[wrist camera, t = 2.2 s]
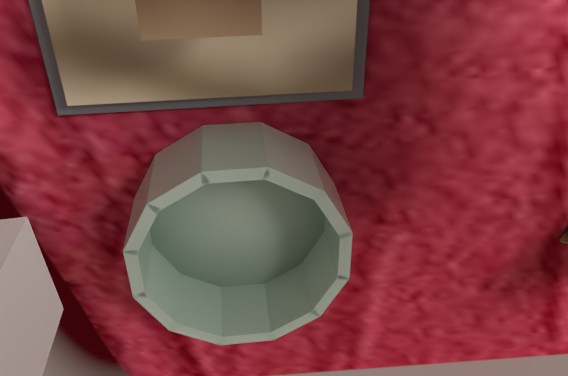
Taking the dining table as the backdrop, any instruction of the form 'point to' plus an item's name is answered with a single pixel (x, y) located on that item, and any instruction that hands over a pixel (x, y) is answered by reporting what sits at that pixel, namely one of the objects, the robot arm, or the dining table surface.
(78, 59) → the lid
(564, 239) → the rock
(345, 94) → the mat
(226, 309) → the bowl
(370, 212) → the dining table surface
